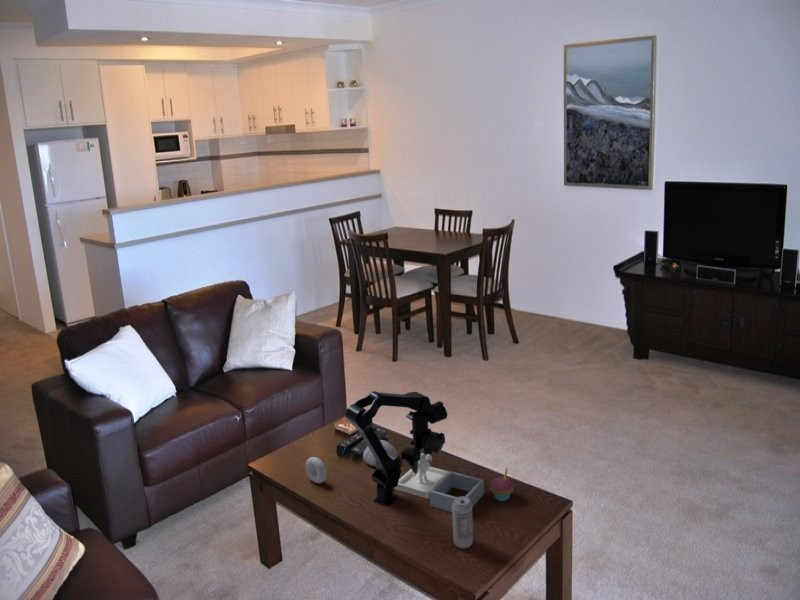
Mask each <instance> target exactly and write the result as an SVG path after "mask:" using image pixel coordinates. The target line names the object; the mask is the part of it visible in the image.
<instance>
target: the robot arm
mask: <svg viewBox="0 0 800 600" xmlns="http://www.w3.org/2000/svg"><path fill="white" fill-rule="evenodd" d="M368 406H370V407H369V408H368V409H365V408H367V407H368ZM382 406H384V407H396V408H408V409H410V411H409V413H407V415H406V418H407V419H408V420H410V421H411V426H412V427H411V429H410V431H409V434H410V435H412V440H411V441H410V445H412V446H414V447H409V446H407V447H406V448H405V449H403V450H402V451H401V452H400V459H402V460H405V461H406V462H407V464H408V465H409V467H410V469H412V470H413V472H414V473H416V474H417V471H418V461H419V460H420V459H421V458H420V457H421V452H422V450H423V452H424V454H425V455H427V454H430V455H429V456H432V457H433V453H434V454H438V453H439V452H440V451H441V450H443V446H444V444H446V437H445V433H443V432H440V433H439V432H436V431H433V430H432V428H429V423H430V424H431V425H433V424H436V423H438V422H439V423H440V422H441V421H444V420H446V419H447V418H448V412H447V409H446V407H445V406H444V402H442V401H440V400H439V401H437V402H434V403H433V404H432V403H431V400H430V398H429V397H428V396H426V395H424V394H423V393H420V392H418V391H411V392H410V391H409V392H407V393H406V394H405V393H404V394H402V393H401V394H400V393H392V392H391V393H389V392H379V391H370V393H368V394H367V395H365V396H363V397H361V398H358V399H356V400H355V402H353V403H352V404H350V405H349V406H348V407H347V409H346V410H345V413H344V415H345V418H346V420H348V422H349V423H350V424H351V425H352V426H353V427H354V428H356V429H357V430H358V431H359V434H360V435H361V436H362V437H361V438H363V440H364V441H365V444H366V445H367V446H368V447H369V449H370V451H371V452H372V454H373V456H374V457H375V459H376V463H375V465H376V466H375V467H376V468H375V470H374V472H373V473H372V475H371V476H370V477H371V479H372V481H373V482H375V483H376V497H375V498H374V499H373V502H374V501H375V503H379V504H381V505H385V506H391V505H392V504H394V502H395V501H396V500H397V499H399V497H400V496H399V495H398V494H396V489H395V487H396V486H398V482H399V479H400V478H401V473H402V465H401V464H400V462H399V459H398V457H397V458H396V457H394V456H393V455H391V454H389V453H388V452H386V450H385V449H384V447H383V445H382V443H381V441H380V440H381V439H379V436H378V435H377V432H376V430H375V429H374V427H373V418H374V417H376V415H377V413H378V411H379V409H380V408H381V407H382ZM412 410H413V411H412ZM430 461H431V460H428V462H429V463H431V462H430Z"/></svg>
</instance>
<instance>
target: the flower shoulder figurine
mask: <svg viewBox="0 0 800 600" xmlns="http://www.w3.org/2000/svg"><path fill="white" fill-rule="evenodd" d="M429 455H430V454H427V455H425V453H421V457H420V458H421V459H420V460H419V461H418V470H419V474H418V478H419V480H418V481H417V483H418V484H423V483H424V482H426V481H428V479H427V476H426V471H427V469H428V468H429V469H430V467H431V464H430V463H431V462H432V461H433V455H432V456H429ZM428 460H430V462H428ZM417 472H418V471H417ZM415 475H416V473H413V476H414V477H415ZM422 476H423V477H422Z"/></svg>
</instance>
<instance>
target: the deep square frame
mask: <svg viewBox="0 0 800 600" xmlns="http://www.w3.org/2000/svg"><path fill="white" fill-rule="evenodd" d="M452 488H454V489H458V490H461V491H464V492H468V493H466V495H465V496H464V497H467V498H469V499H470V502H471V504H472V508H473V507H474V506H476V504H477V503H478V502H479V501H480V500H481V498H482V497H483V496H484V495H485V479H481V478H478V477H474V476H470V475H466V474H464V473H463V474H462V473H459V472H455V471H451V470H450V471H449V473H448V474H447V475H446V476H445V477H444V478H443V479H442V480H441V481H440V482H439V483H438V484H437V485H436V486H435V487H434V488H432V489H431V490H430V491H429V493H430V498H429V506H430V507H433V508H437V509H440V510H443V511H445V512H450V513H452V504H453V502H454V499H455V498H456V497H457V496H453V495H451V494H447V493H449V491H450V490H451V489H452Z"/></svg>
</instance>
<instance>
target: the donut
mask: <svg viewBox="0 0 800 600" xmlns="http://www.w3.org/2000/svg"><path fill="white" fill-rule="evenodd" d="M305 473H306V474H307V476H308V478H309V479H310V480H311V481H312V482H314V483H315V484H322V483H324V482H325V481H326V479H327V475H328V471H327V468H326V465H325V463H324V462H323V460H321V459H320V458H319V457H316V456H311V457H309V458H308V459H307V460H306V463H305Z"/></svg>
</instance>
